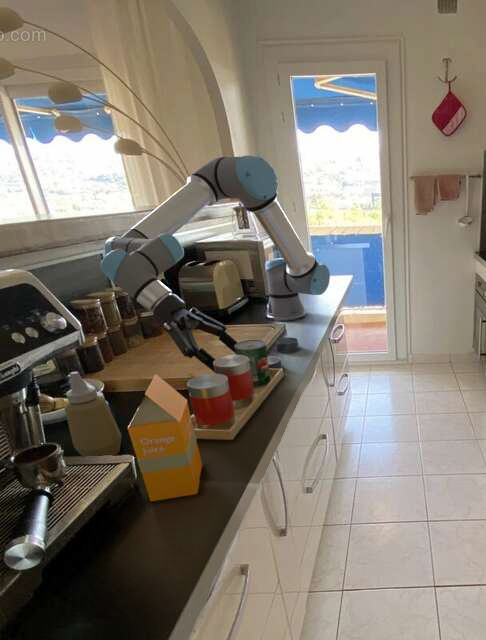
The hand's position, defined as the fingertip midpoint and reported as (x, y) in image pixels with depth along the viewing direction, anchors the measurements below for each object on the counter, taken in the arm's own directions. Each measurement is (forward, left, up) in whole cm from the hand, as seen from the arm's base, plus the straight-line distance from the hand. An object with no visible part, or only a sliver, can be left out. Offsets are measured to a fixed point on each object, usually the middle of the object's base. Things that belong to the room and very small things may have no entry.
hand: (230, 360), depth 119 cm
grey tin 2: (-28, +6, -7) cm, 30 cm away
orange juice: (+45, +8, -7) cm, 46 cm away
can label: (+12, +6, -6) cm, 15 cm away
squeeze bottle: (+37, -12, -7) cm, 39 cm away
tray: (+12, +6, -7) cm, 15 cm away
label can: (+24, +6, -6) cm, 26 cm away
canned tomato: (0, +6, -7) cm, 9 cm away
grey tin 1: (-10, +6, -7) cm, 14 cm away
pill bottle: (+27, -19, -7) cm, 33 cm away
